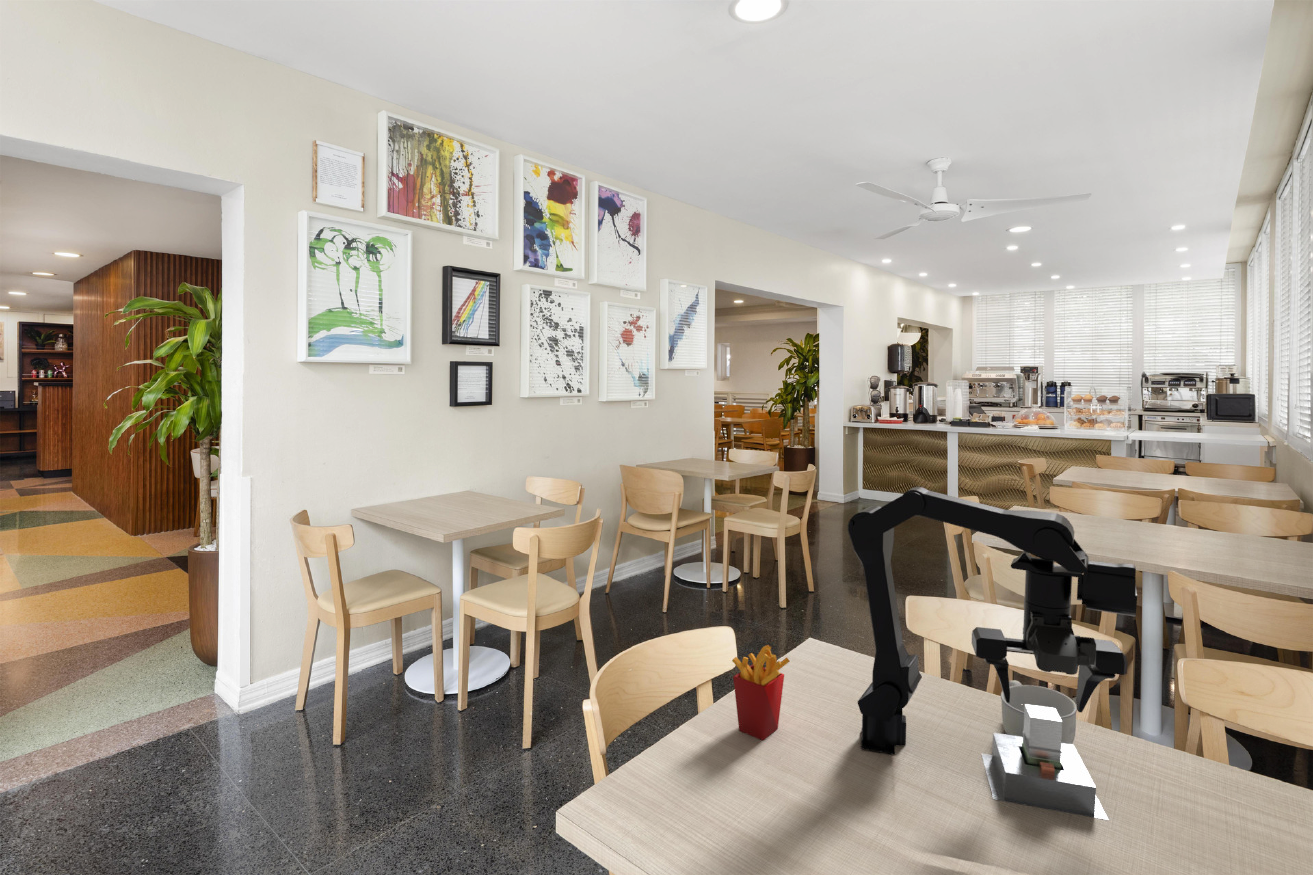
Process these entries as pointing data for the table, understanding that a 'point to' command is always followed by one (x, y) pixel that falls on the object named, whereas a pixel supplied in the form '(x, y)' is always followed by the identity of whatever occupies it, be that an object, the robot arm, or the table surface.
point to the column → (1042, 735)
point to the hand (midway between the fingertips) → (1042, 706)
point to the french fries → (759, 693)
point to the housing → (1041, 779)
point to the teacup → (1038, 697)
